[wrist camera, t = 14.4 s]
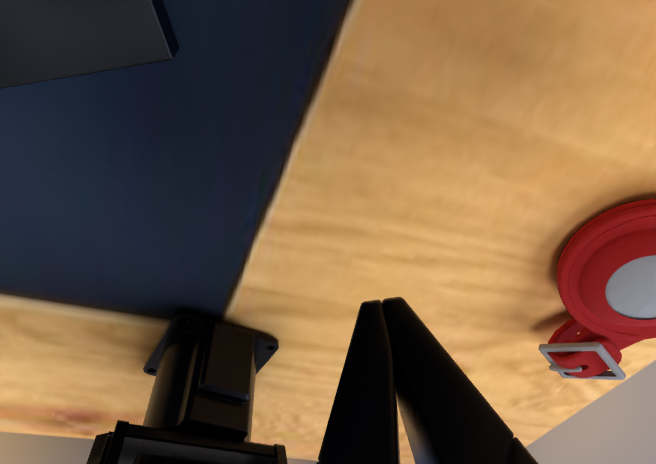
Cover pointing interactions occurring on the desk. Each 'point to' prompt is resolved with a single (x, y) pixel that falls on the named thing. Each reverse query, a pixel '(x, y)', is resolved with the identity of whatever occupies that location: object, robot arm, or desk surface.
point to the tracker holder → (606, 292)
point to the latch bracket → (80, 37)
